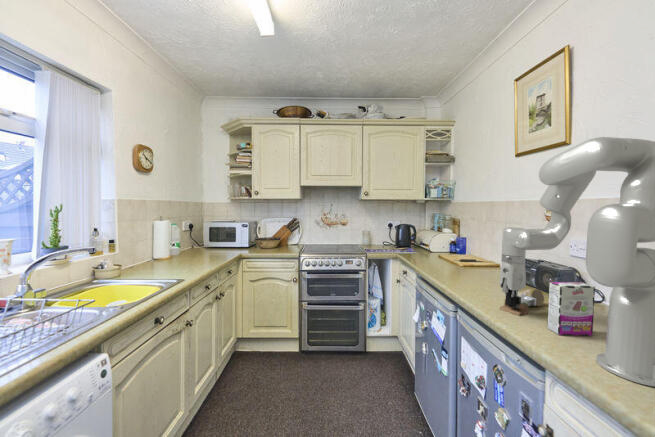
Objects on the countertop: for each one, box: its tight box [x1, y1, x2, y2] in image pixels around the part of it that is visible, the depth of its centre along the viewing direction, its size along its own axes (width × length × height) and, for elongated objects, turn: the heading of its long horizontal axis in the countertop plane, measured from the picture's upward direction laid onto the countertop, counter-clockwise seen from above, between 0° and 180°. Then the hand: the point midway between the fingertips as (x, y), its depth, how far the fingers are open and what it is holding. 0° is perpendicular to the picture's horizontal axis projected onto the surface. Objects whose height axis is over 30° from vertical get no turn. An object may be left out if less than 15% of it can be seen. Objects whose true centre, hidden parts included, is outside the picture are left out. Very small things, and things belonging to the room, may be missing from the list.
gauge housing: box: [499, 301, 529, 317], centre depth 104 cm, size 6×7×4 cm
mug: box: [517, 288, 545, 307], centre depth 113 cm, size 8×10×10 cm
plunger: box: [510, 294, 537, 309], centre depth 107 cm, size 11×5×5 cm, turn 117°
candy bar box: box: [547, 281, 596, 337], centre depth 87 cm, size 11×5×16 cm, turn 90°
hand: (510, 305), depth 103 cm, fingers closed
